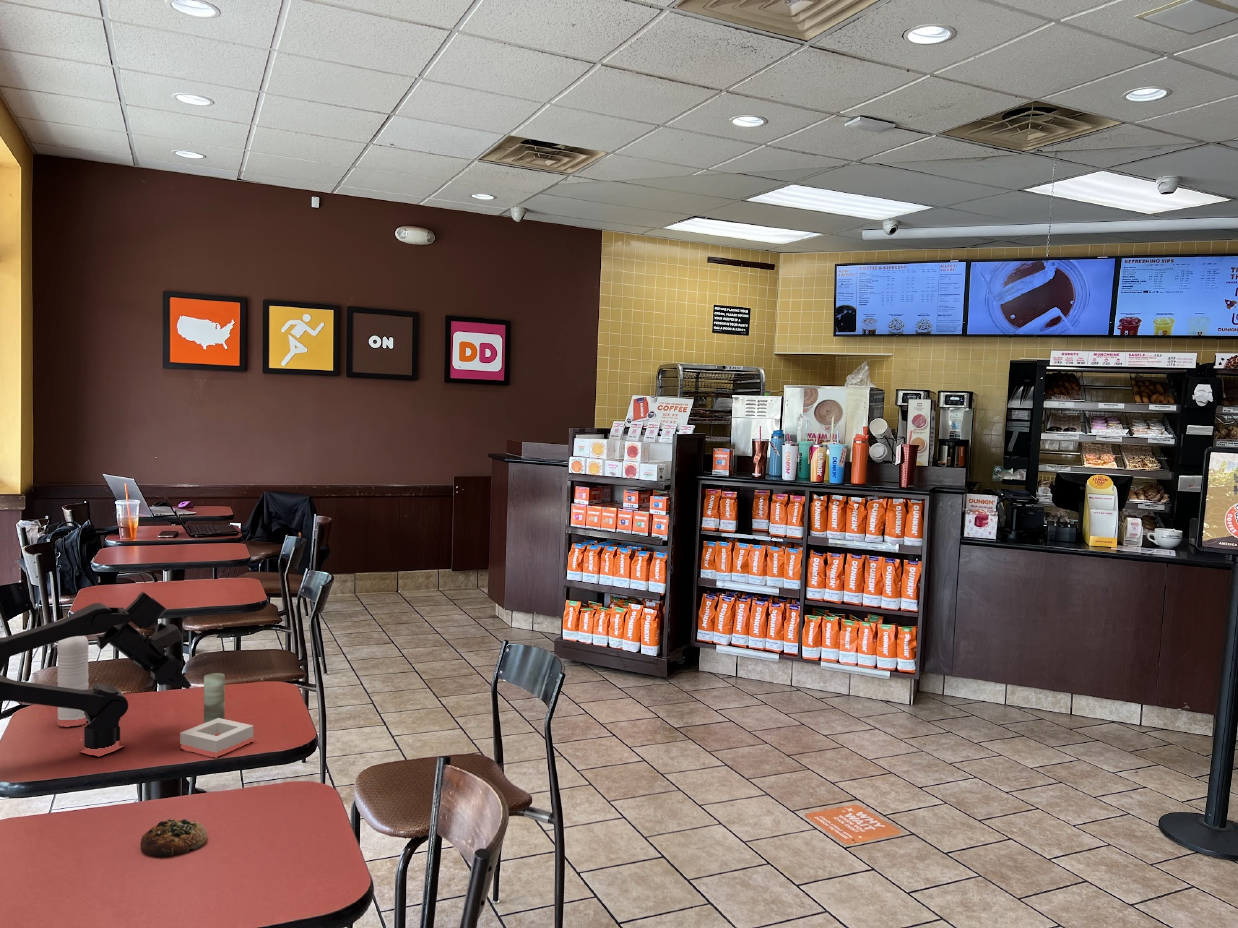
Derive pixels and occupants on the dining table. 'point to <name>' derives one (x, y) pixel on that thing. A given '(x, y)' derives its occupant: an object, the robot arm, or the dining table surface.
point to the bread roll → (173, 838)
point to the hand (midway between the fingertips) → (183, 681)
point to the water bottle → (72, 671)
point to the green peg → (214, 696)
